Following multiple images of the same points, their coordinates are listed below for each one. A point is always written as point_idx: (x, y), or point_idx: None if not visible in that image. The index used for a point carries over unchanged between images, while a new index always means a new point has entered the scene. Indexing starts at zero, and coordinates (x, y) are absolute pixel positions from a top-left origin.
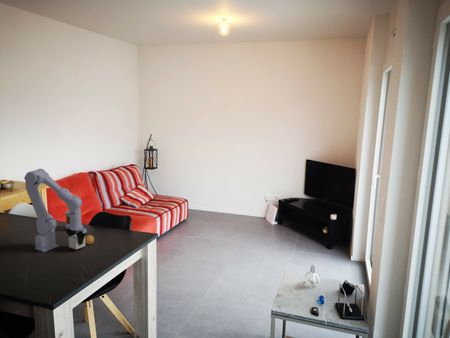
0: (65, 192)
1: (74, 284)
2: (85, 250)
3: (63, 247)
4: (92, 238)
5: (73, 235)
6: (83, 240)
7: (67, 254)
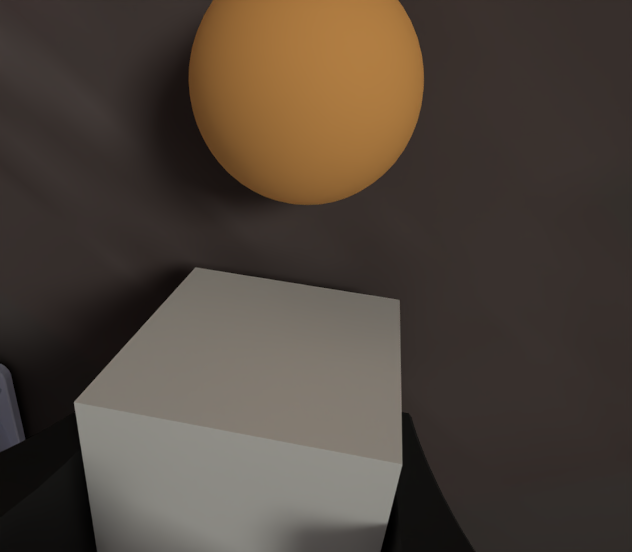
0: None
1: None
2: (464, 347)
3: (83, 366)
4: (410, 91)
5: (122, 529)
6: (426, 460)
7: None
